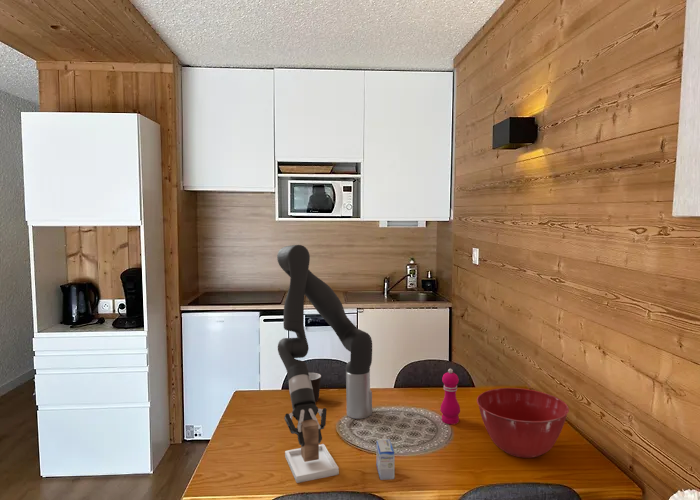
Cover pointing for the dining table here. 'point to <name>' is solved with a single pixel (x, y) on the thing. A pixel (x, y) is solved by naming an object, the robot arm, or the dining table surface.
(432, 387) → the dining table surface
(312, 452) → the brown wooden block
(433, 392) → the dining table surface
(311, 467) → the tray
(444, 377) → the pepper mill
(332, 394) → the dining table surface
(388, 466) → the medicine box
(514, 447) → the mixing bowl
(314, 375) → the coffee mug
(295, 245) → the robot arm
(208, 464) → the dining table surface
